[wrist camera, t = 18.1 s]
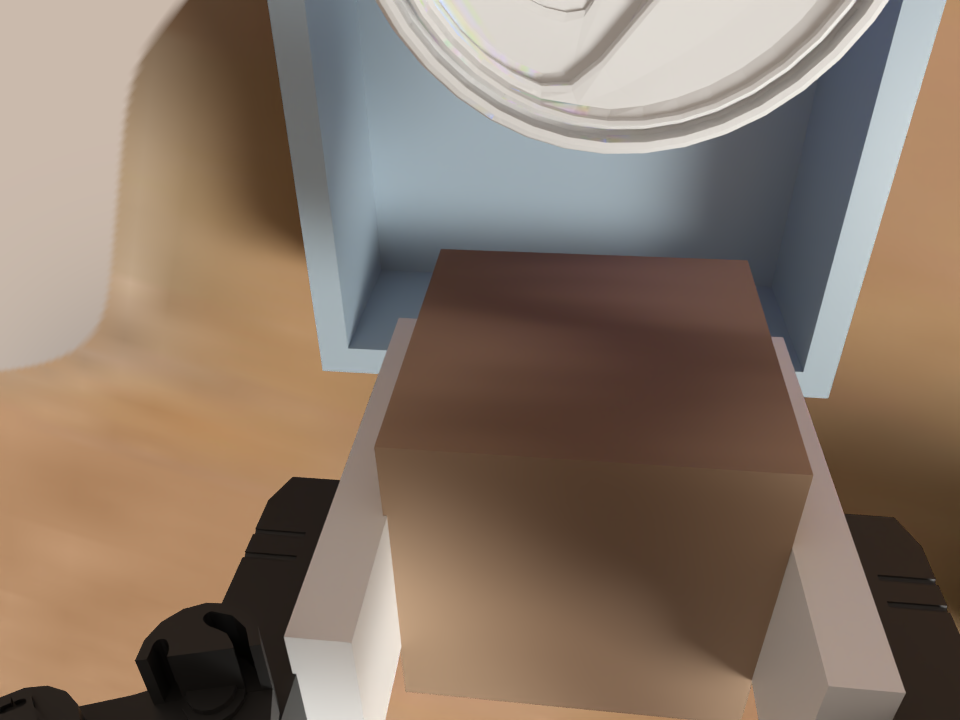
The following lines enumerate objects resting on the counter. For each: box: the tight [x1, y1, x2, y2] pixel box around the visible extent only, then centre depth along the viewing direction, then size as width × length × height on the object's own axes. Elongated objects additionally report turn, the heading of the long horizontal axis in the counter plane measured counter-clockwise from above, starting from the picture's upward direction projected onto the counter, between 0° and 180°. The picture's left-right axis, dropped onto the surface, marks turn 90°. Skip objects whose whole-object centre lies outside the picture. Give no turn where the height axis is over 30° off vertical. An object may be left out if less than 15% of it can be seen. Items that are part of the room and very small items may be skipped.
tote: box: [267, 0, 946, 398], centre depth 19 cm, size 14×18×5 cm
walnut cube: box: [374, 249, 814, 720], centre depth 13 cm, size 5×5×5 cm
